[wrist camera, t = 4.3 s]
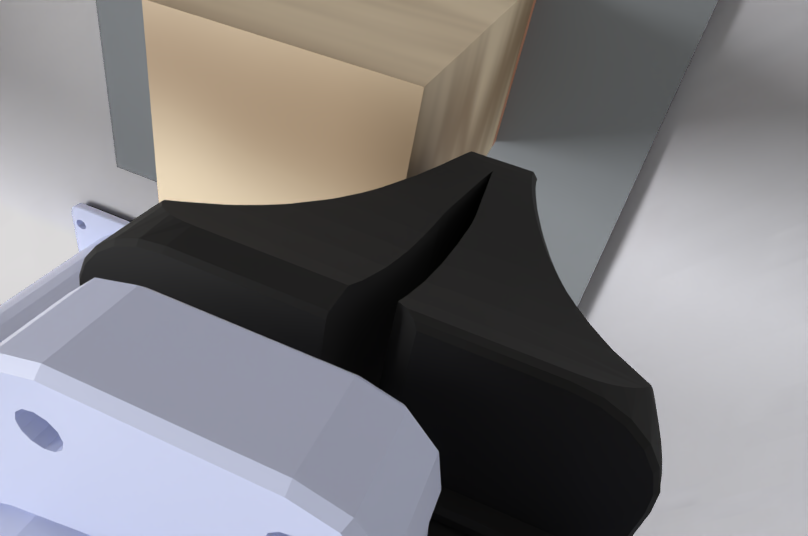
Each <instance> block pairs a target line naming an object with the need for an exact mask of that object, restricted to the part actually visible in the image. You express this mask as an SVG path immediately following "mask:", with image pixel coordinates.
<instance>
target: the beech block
mask: <svg viewBox="0 0 808 536" xmlns="http://www.w3.org/2000/svg"><path fill="white" fill-rule="evenodd" d="M535 3H536V0H142V8H143V20H144V32H145V44H146V56H147V68H148V80H149V92H150V103H151V115H152V127H153V139H154V151H155V163H156V175H157V187H158V199H159V203H160V202H161V201H163V200H172V201H182V202H196V203H210V204H223V205H273V204H292V203H300V202H309V201H317V200H326V199H333V198H339V197H344V196H349V195H353V194H358V193H362V192H366V191H370V190H374V189H377V188H381V187H384V186H387V185H390V184H392V183H395V182H398V181H401V180H404V179H407V178H410V177H413V176H416V175H418V174H420V173H423V172H425V171H427V170H430V169H432V168H435V167H437V166H439V165H442V164H444V163H446V162H448V161H450V160H453V159H455V158H457V157H459V156H461V155H463V154H466V153H468V152H471V151H472V152H475V153H478V154H481V155H484V156H487V154H488V152H489V151H490V149H491V148H492V146H493V145H494V143H495V141H496V138H497V135H498V131H499V128H500V124H501V121H502V117H503V114H504V110H505V107H506V103H507V100H508V96H509V93H510V89H511V86H512V83H513V79H514V76H515V72H516V69H517V65H518V62H519V58H520V55H521V51H522V48H523V44H524V41H525V37H526V34H527V30H528V27H529V23H530V20H531V17H532V13H533V10H534V6H535Z"/></svg>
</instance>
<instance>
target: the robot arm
mask: <svg viewBox="0 0 808 536" xmlns="http://www.w3.org/2000/svg"><path fill="white" fill-rule="evenodd" d="M536 182H537V178H536V176H535V174H534V172H533V171H530V170H527V169H524V168H521V167H518V166H515V165H512V164H508V163H505V162H502V161H499V160H496V159H493V158H490V157H487V156H484V155H481V154H478V153H475V152H472V151H471V152H468V153H466V154H463V155H461V156H459V157H457V158H455V159H453V160H450V161H448V162H446V163H444V164H442V165H439V166H437V167H435V168H432V169H430V170H427V171H425V172H423V173H420V174H418V175H416V176H413V177H410V178H407V179H404V180H401V181H398V182H395V183H392V184H390V185H387V186H384V187H381V188H377V189H374V190H370V191H366V192H362V193H358V194H353V195H349V196H344V197H339V198H333V199H326V200H317V201H309V202H300V203H292V204H273V205H223V204H210V203H196V202H182V201H172V200H163V201H161V202H160V203H158V204H157V205H155V206H154V207H152V208H151V209H149V210H148V211H146V212H145V213H143V214H142V215H140V216H139V217H137V218H136V219H134V220H133V221H131V222H129V221H126V220H124V219H121V218H119V217H116V216H114V215H111V214H109V213H106V212H104V211H101V210H98V209H96V208H93V207H91V206H88V205H86V204H83V203H79V204H77V205H75V206H73V208H72V216H73V222H74V227H75V232H76V238H77V243H78V248H79V253H77V254H76V255H74V256H73V257H71V258H70V259H68V260H67V261H65V262H64V263H62V264H61V265H59V266H58V267H56V268H55V269H53V270H52V271H50V272H49V273H47V274H46V275H44V276H43V277H41V278H40V279H38V280H37V281H35V282H34V283H33V284H31V285H30V286H28V287H27V288H25V289H24V290H22V291H21V292H19V293H18V294H16V295H15V296H13V297H12V298H10V299H9V300H7V301H6V302H4V303H3V304H1V305H0V536H633V534H634V533H635V532H636V530H637V529H638V528H639V526H640V525H641V524H642V523H643V521H644V520H645V519H646V517H647V516H648V515H649V513H650V512H651V510H652V508H653V506H654V504H655V502H656V500H657V498H658V496H659V494H660V483H661V476H662V449H661V438H660V430H659V423H658V417H657V410H656V404H655V398H654V393H653V388H652V386H651V385H650V384H649V383H648V382H647V381H646V380H645V379H644V378H642V377H641V376H640V375H639V374H638V373H637V372H636V371H635V370H634V369H633V368H632V367H631V366H629V365H628V364H627V363H626V362H625V361H624V360H623V359H622V358H621V357H620V356H619V355H617V354H616V353H615V352H614V351H613V350H612V349H611V348H610V347H609V345H608V344H607V343H606V342H605V341H604V340H603V339H602V338H601V336H600V335H599V334H598V333H597V332H596V331H595V330H594V328H593V327H592V326H591V325H590V324H589V322H588V321H587V320H586V318H585V317H584V316H583V315H582V313H581V312H580V311H579V309H578V308H577V306H576V305H575V303H574V302H573V300H572V299H571V297H570V296H569V294H568V293H567V291H566V289H565V288H564V286H563V284H562V282H561V280H560V278H559V276H558V274H557V272H556V270H555V267H554V265H553V263H552V260H551V257H550V255H549V252H548V249H547V246H546V243H545V240H544V236H543V233H542V229H541V224H540V220H539V215H538V210H537V202H536Z"/></svg>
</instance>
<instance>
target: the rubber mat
mask: <svg viewBox="0 0 808 536" xmlns="http://www.w3.org/2000/svg"><path fill="white" fill-rule="evenodd" d="M717 3H718V0H536V3H535V6H534V10H533V13H532V17H531V20H530V23H529V27H528V30H527V34H526V37H525V41H524V44H523V48H522V51H521V55H520V58H519V62H518V65H517V69H516V72H515V76H514V79H513V83H512V86H511V89H510V93H509V96H508V100H507V103H506V107H505V110H504V114H503V117H502V121H501V124H500V128H499V131H498V135H497V138H496V141H495V143H494V145H493V146H492V148H491V149H490V151H489V152H488V154H487V157H490V158H493V159H496V160H499V161H502V162H505V163H508V164H512V165H515V166H518V167H521V168H524V169H527V170H530V171H533V172H534V174H535V176H536V178H537V182H536V202H537V210H538V215H539V220H540V224H541V229H542V233H543V236H544V240H545V243H546V246H547V249H548V252H549V255H550V257H551V260H552V263H553V265H554V267H555V270H556V272H557V274H558V276H559V278H560V280H561V282H562V284H563V286H564V288H565V289H566V291H567V293H568V294H569V296H570V297H571V299H572V300H573V302H574V303H575V305H576V306H577V307H578V305H579V303H580V300H581V298H582V296H583V294H584V292H585V289H586V287H587V285H588V283H589V281H590V279H591V276H592V274H593V272H594V270H595V268H596V266H597V263H598V261H599V259H600V257H601V255H602V253H603V250H604V248H605V246H606V244H607V242H608V239H609V237H610V235H611V233H612V231H613V229H614V226H615V224H616V222H617V220H618V218H619V216H620V213H621V211H622V209H623V207H624V205H625V203H626V200H627V198H628V196H629V194H630V192H631V189H632V187H633V185H634V183H635V181H636V179H637V176H638V174H639V172H640V170H641V168H642V166H643V163H644V161H645V159H646V157H647V155H648V153H649V150H650V148H651V146H652V144H653V142H654V139H655V137H656V135H657V133H658V131H659V129H660V126H661V124H662V122H663V120H664V118H665V116H666V113H667V111H668V109H669V107H670V105H671V103H672V100H673V98H674V96H675V94H676V92H677V89H678V87H679V85H680V83H681V81H682V79H683V76H684V74H685V72H686V70H687V68H688V66H689V63H690V61H691V59H692V57H693V55H694V53H695V50H696V48H697V46H698V44H699V42H700V39H701V37H702V35H703V33H704V31H705V29H706V26H707V24H708V22H709V20H710V18H711V16H712V13H713V11H714V9H715V7H716V5H717ZM96 5H97V13H98V21H99V29H100V37H101V45H102V52H103V60H104V68H105V76H106V84H107V92H108V100H109V107H110V115H111V123H112V131H113V139H114V147H115V155H116V162H117V167H119V168H122V169H124V170H127V171H129V172H132V173H135V174H137V175H140V176H143V177H145V178H148V179H151V180H153V181H156V182H157V175H156V163H155V151H154V139H153V127H152V115H151V103H150V92H149V80H148V68H147V56H146V44H145V32H144V20H143V8H142V0H96Z"/></svg>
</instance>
